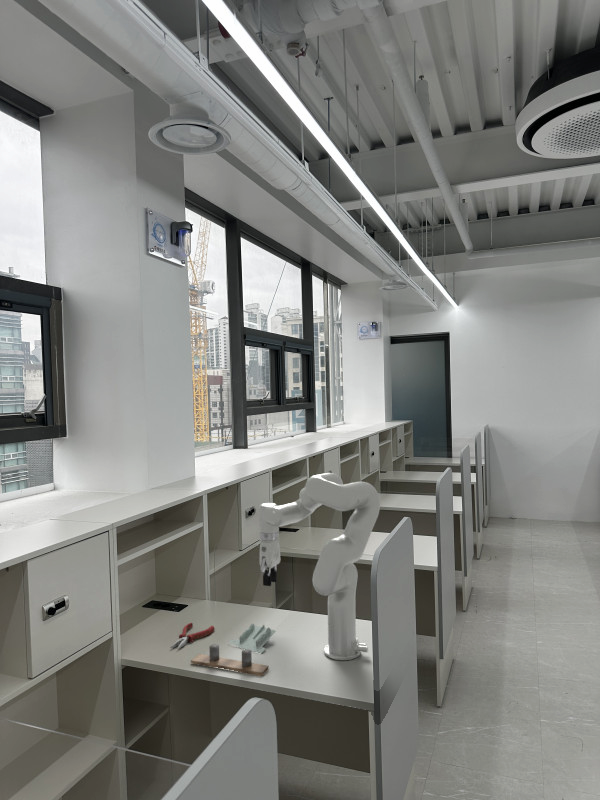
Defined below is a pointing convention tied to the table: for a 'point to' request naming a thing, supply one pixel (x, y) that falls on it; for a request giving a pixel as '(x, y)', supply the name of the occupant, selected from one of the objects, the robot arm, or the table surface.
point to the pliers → (190, 638)
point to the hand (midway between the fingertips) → (269, 583)
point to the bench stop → (231, 662)
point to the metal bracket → (254, 638)
